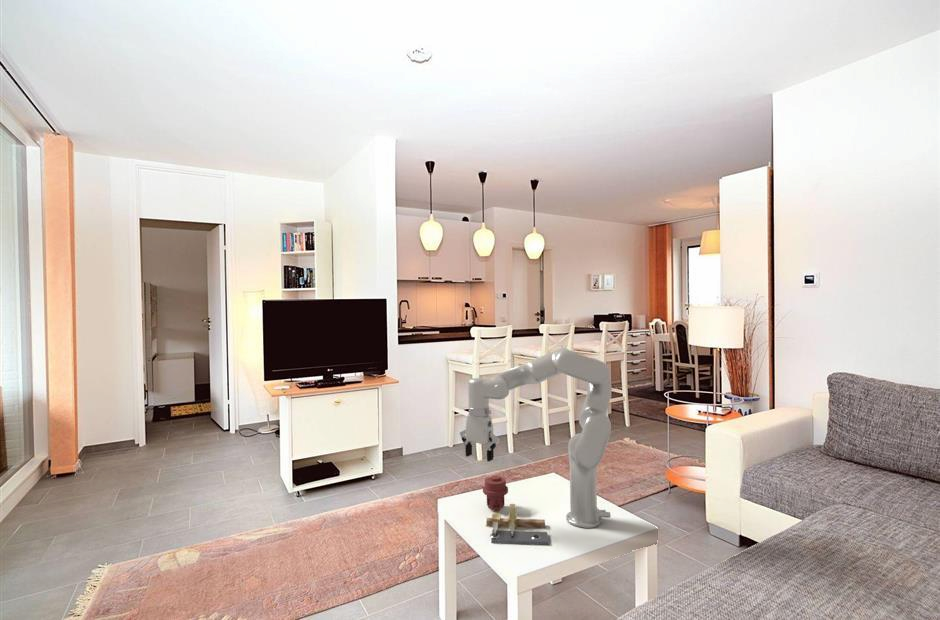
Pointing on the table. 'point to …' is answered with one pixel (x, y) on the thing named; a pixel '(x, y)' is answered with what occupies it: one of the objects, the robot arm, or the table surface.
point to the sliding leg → (512, 519)
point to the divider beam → (525, 523)
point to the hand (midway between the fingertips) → (479, 457)
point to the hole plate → (520, 537)
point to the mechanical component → (495, 492)
